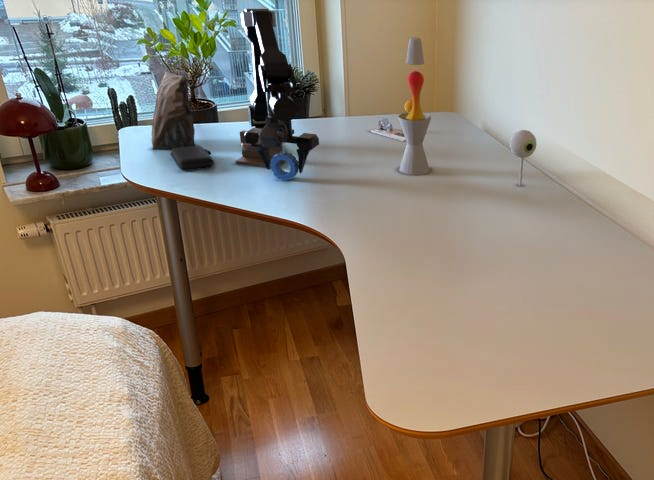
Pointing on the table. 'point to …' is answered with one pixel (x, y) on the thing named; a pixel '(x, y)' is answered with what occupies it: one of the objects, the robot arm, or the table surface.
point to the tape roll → (278, 170)
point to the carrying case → (192, 158)
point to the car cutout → (388, 130)
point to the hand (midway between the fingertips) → (284, 170)
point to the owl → (172, 115)
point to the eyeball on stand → (522, 146)
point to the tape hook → (255, 154)
